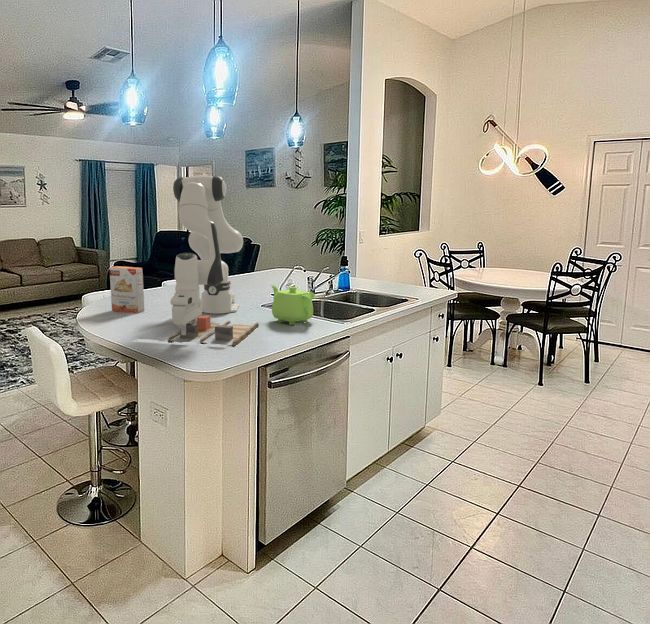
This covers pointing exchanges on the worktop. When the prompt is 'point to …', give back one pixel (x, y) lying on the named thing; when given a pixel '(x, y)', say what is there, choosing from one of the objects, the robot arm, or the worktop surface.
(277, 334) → the worktop surface
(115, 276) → the cracker box
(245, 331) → the lane rails
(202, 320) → the cube
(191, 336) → the strip
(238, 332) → the strip
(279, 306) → the teapot
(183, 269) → the robot arm
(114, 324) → the worktop surface
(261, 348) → the worktop surface
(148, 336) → the worktop surface
